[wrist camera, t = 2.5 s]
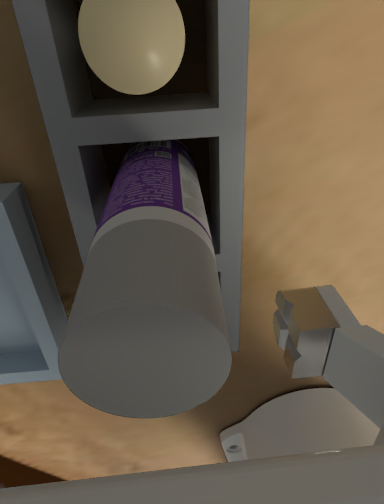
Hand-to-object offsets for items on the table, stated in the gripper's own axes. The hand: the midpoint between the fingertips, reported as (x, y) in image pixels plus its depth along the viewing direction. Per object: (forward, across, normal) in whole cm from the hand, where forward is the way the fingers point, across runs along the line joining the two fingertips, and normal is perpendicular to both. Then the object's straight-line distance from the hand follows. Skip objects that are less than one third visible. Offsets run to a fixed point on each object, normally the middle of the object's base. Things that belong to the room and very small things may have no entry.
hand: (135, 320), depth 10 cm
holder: (+14, -1, +1) cm, 14 cm away
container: (+14, -1, +1) cm, 14 cm away
